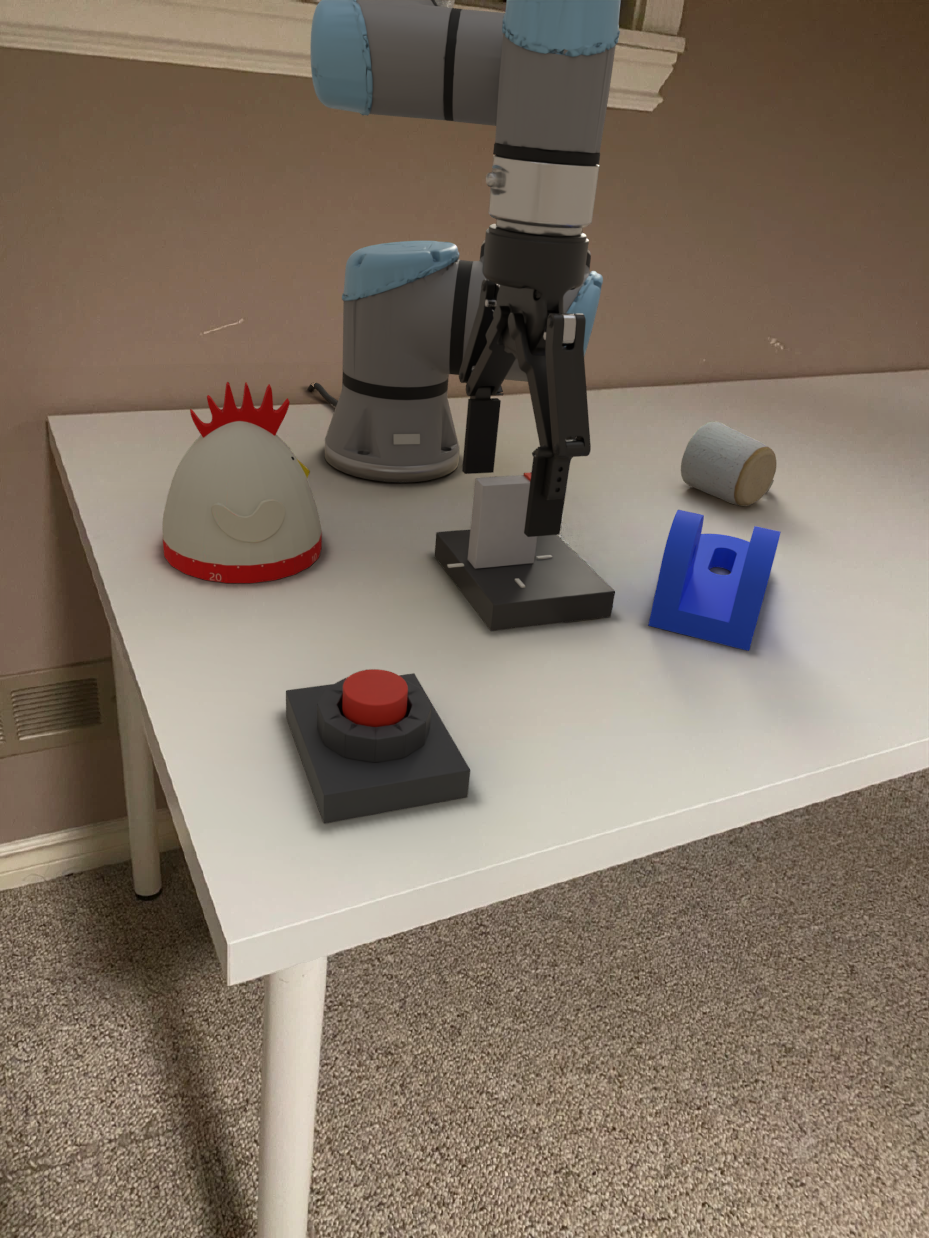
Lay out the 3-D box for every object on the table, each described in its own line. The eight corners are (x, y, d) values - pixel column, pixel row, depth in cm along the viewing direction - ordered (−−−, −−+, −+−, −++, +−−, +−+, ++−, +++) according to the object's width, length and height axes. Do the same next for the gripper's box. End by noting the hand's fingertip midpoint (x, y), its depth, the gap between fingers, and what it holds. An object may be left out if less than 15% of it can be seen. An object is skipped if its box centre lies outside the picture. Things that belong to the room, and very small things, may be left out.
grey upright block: (474, 569, 80) (483, 483, 76) (467, 559, 81) (475, 474, 77) (533, 563, 82) (545, 479, 78) (525, 554, 83) (536, 471, 79)
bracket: (749, 651, 77) (776, 550, 72) (648, 625, 79) (668, 527, 75) (769, 565, 92) (793, 478, 87) (684, 546, 94) (703, 460, 89)
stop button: (335, 696, 60) (335, 673, 59) (395, 687, 61) (397, 665, 61) (351, 732, 57) (352, 709, 56) (414, 723, 58) (416, 699, 57)
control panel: (420, 557, 87) (421, 531, 85) (541, 546, 91) (545, 521, 90) (475, 633, 75) (478, 604, 74) (611, 617, 80) (616, 589, 78)
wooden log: (733, 515, 102) (750, 447, 98) (673, 490, 107) (687, 424, 103) (787, 498, 108) (805, 433, 104) (727, 475, 113) (743, 412, 110)
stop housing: (285, 716, 64) (285, 666, 62) (412, 698, 67) (415, 650, 65) (323, 824, 55) (324, 770, 53) (467, 797, 58) (473, 745, 56)
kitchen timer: (332, 578, 82) (334, 408, 74) (165, 588, 78) (151, 410, 70) (308, 513, 93) (308, 361, 86) (162, 519, 89) (149, 360, 82)
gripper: (433, 202, 77) (417, 452, 87) (567, 253, 57) (527, 570, 67) (517, 207, 80) (492, 448, 90) (674, 257, 59) (619, 561, 70)
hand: (507, 501), depth 78 cm, fingers open, 13 cm apart
